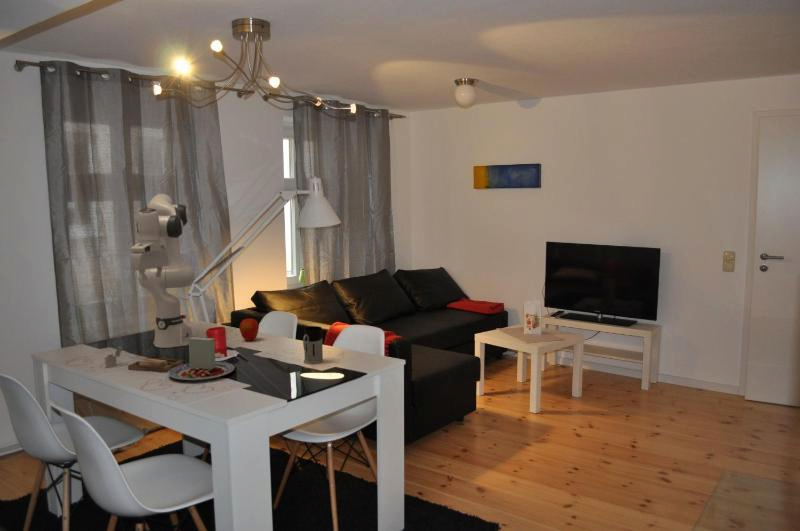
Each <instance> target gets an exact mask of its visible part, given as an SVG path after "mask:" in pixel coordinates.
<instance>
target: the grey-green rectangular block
mask: <svg viewBox="0 0 800 531" xmlns="http://www.w3.org/2000/svg"><path fill="white" fill-rule="evenodd" d="M197 337H198V336H195V337H192V338H189V345H188V356H189V358H188V359H189V361H188V362H189V363H190V368H202V369H213V368H215V362H216V355H215V354H216V350H215V348H216V347H215V346H216V345H215V338H211V337H210V338H209V337H198V338H197Z"/></svg>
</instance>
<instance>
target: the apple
mask: <svg viewBox="0 0 800 531" xmlns="http://www.w3.org/2000/svg"><path fill="white" fill-rule="evenodd" d="M259 327H260V325H259V323H258V321H257V320H256V319H255V318H244V319H243V320H242V321H241V322H240V324H239V332H240V334H241V337H242V338H243V339H244V340H245V341H247V342H253V341H254V340H255V339H256V338H257V337H258V333H259V329H260V328H259Z"/></svg>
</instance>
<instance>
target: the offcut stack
mask: <svg viewBox="0 0 800 531" xmlns="http://www.w3.org/2000/svg"><path fill="white" fill-rule="evenodd" d="M145 358H146V359H145ZM145 358H143V360H142V359H140V360H138V361H139V365H144V366H157V367H166V366H168V363H167V361H165V360H157V359H148V358H149V357H145Z"/></svg>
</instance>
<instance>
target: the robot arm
mask: <svg viewBox="0 0 800 531" xmlns="http://www.w3.org/2000/svg"><path fill="white" fill-rule="evenodd" d="M173 203H174V202H173V200H172V198H171V197H170V196H169V195H167V194H166V193H158V194H156V195H154V196H153V197H152V198H151V199H150V201H149V202H148V204H147V206H145V207H144V208H142V209H139V210H138V213H137V221H136V232H137V234H138V242H137V243H135V245H133V246H131V247H130V253H131V255H130V256H131V257H130V258H131V260H130V263H131V269H132V270H133V271H138V275H137V280H138V283H139V285H140V286H141V287H142V288H143V289H145V290H146V291H147V292H149V293H150V295H151V296H152V298H153V300H154V304H155V311H156V316H155V324H156V327H155V328H154V341H153V342H152V344H153V345H154V346H155V347H156V348H161V349H162V348H163V349H164V348H166V349H167V348H177V347H186V346H189V338H192V337H197V338H199V337H198V336H194V333H193V329H192V327H190V326H189V325H188V324H186V323H185V322H184V320H186V319H187V315H186V314H181V301H180V299H179V298H178V296H176V295H173V294H171V293H169V292H168V291H167V289H178V288H181V289H182V288H186V287H189V286H192V284H193V283H194V281H195V279H196V274H195V271H194V269H193V268H192V267H191V266H190V265H187V263H185V262H184V261H183V259H182V258H181V249H180V248H181V245H180V244H181V242H180V236H181V235H182V234H183V231H184V227H185V226H186V225H187V224H188V222H189V220H190V219H189V218H190V212H189V209H188V207H187V206H186V205H184V204H180V203H179V204H173Z"/></svg>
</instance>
